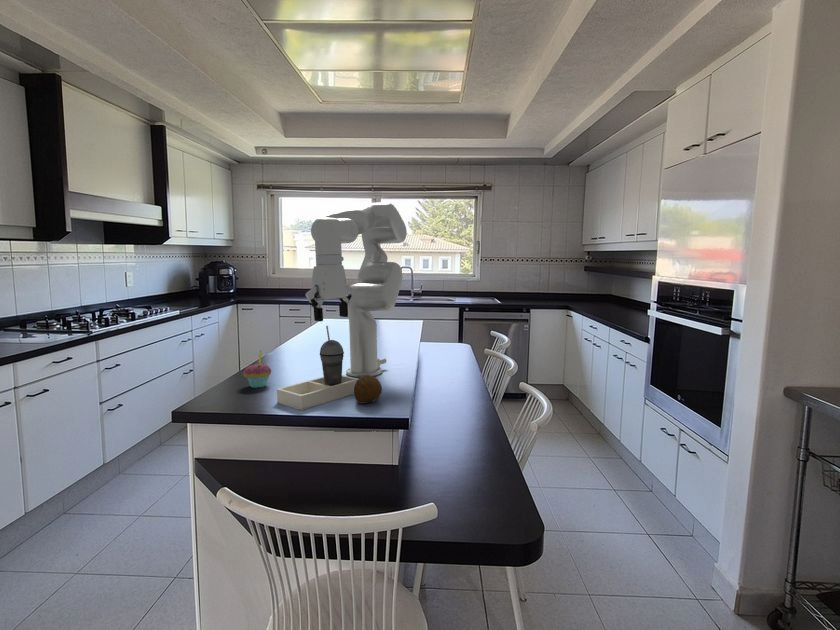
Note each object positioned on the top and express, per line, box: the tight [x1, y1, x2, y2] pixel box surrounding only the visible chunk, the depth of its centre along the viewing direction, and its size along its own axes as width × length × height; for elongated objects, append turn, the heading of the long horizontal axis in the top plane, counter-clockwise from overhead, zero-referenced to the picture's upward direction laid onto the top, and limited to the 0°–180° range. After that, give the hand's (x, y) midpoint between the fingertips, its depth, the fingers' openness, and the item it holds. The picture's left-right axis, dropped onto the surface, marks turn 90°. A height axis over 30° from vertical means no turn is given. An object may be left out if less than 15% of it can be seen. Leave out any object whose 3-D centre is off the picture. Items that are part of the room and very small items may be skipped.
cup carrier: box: [276, 374, 359, 411], centre depth 139 cm, size 22×11×4 cm, turn 141°
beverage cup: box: [319, 325, 345, 386], centre depth 142 cm, size 7×7×20 cm
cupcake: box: [242, 349, 272, 389], centre depth 152 cm, size 9×8×12 cm
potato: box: [353, 375, 383, 404], centre depth 134 cm, size 8×12×8 cm, turn 19°
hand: (331, 318), depth 141 cm, fingers open, 9 cm apart
